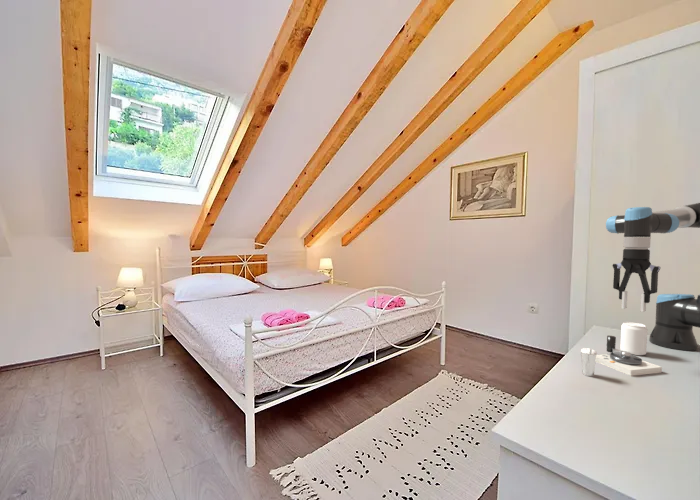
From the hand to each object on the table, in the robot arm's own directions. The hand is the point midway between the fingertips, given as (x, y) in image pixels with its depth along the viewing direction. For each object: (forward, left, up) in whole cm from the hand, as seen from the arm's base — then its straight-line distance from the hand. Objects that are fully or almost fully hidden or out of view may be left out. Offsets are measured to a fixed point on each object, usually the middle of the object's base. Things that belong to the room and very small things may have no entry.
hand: (633, 309), depth 120 cm
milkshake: (+26, +5, -21) cm, 34 cm away
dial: (+5, +1, -18) cm, 19 cm away
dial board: (+5, +2, -21) cm, 21 cm away
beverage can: (-13, -9, -21) cm, 26 cm away
